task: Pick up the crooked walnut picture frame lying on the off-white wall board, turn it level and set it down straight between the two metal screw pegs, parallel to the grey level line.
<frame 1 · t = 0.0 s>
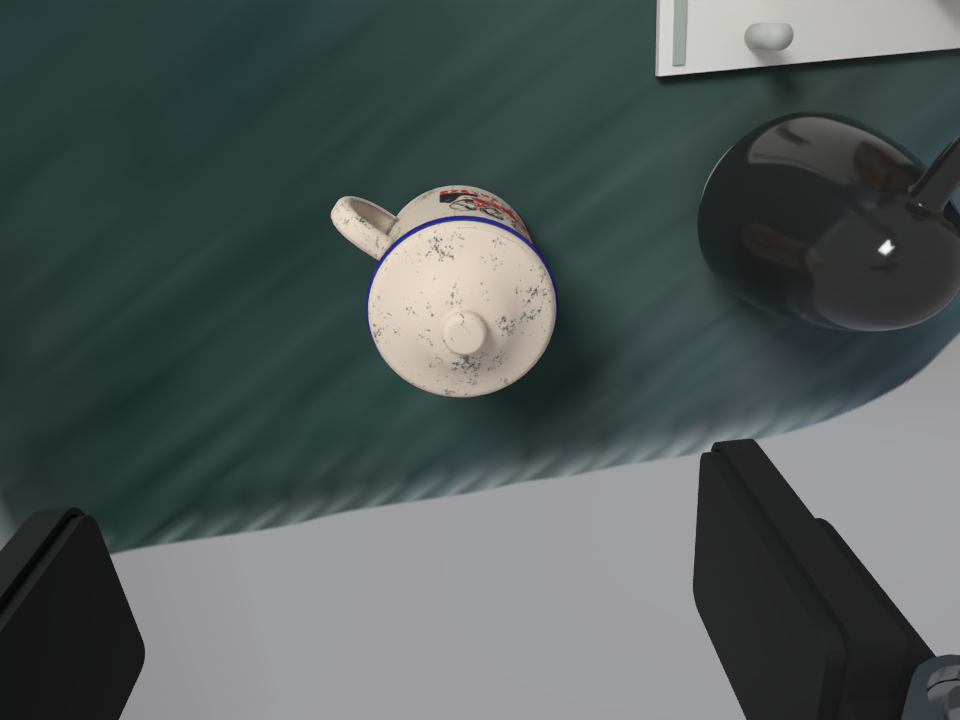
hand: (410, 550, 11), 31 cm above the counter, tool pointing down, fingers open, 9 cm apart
teacup with lid: (437, 243, 41), on the counter
dark grey egg-shaped piece: (763, 194, 41), on the counter
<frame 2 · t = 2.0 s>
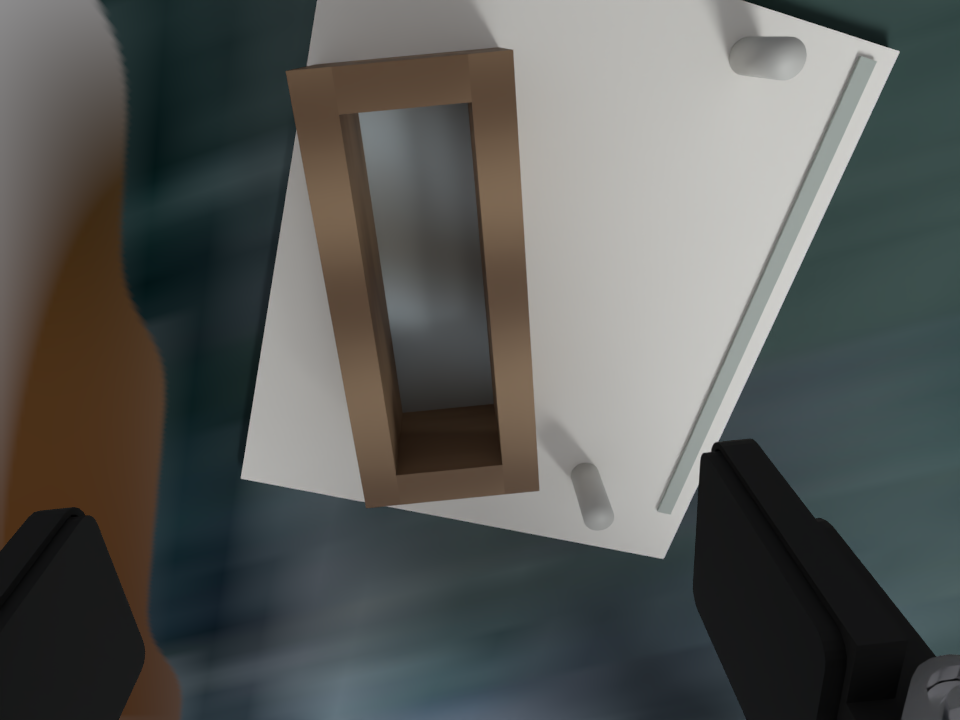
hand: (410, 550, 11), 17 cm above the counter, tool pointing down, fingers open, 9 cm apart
frame: (431, 262, 26), point 1 cm above the counter, touching wall board
wall board: (533, 282, 27), on the counter
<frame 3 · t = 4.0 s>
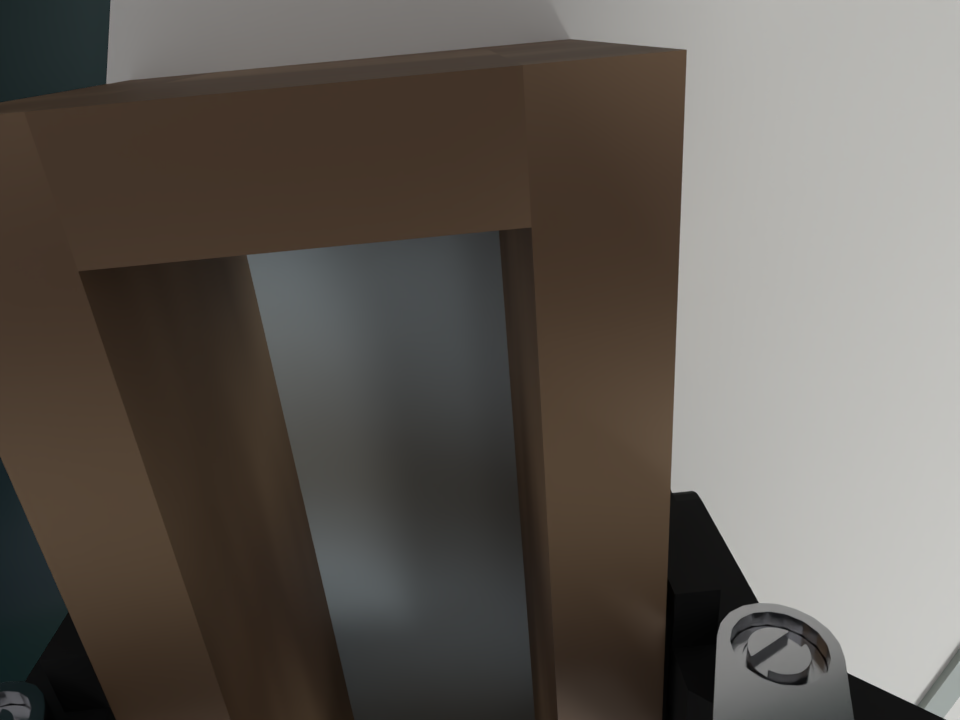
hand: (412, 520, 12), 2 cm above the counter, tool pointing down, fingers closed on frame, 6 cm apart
frame: (414, 485, 13), point 1 cm above the counter, touching gripper, wall board
wall board: (616, 506, 14), on the counter
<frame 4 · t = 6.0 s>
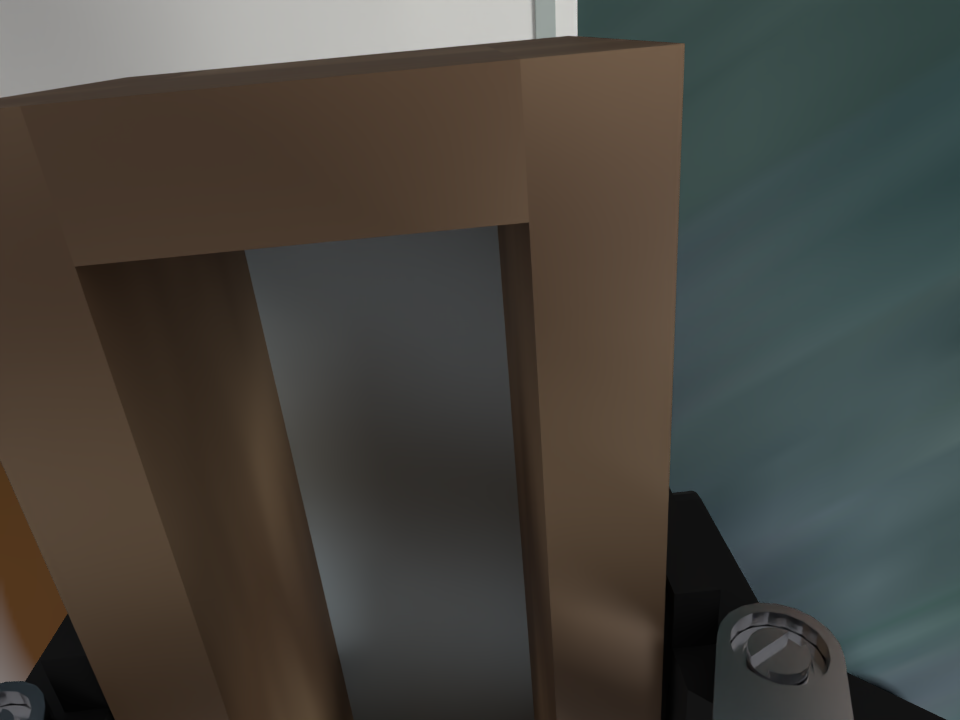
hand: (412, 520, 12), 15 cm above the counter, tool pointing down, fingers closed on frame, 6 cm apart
frame: (413, 483, 13), point 14 cm above the counter, touching gripper
wall board: (313, 278, 26), on the counter
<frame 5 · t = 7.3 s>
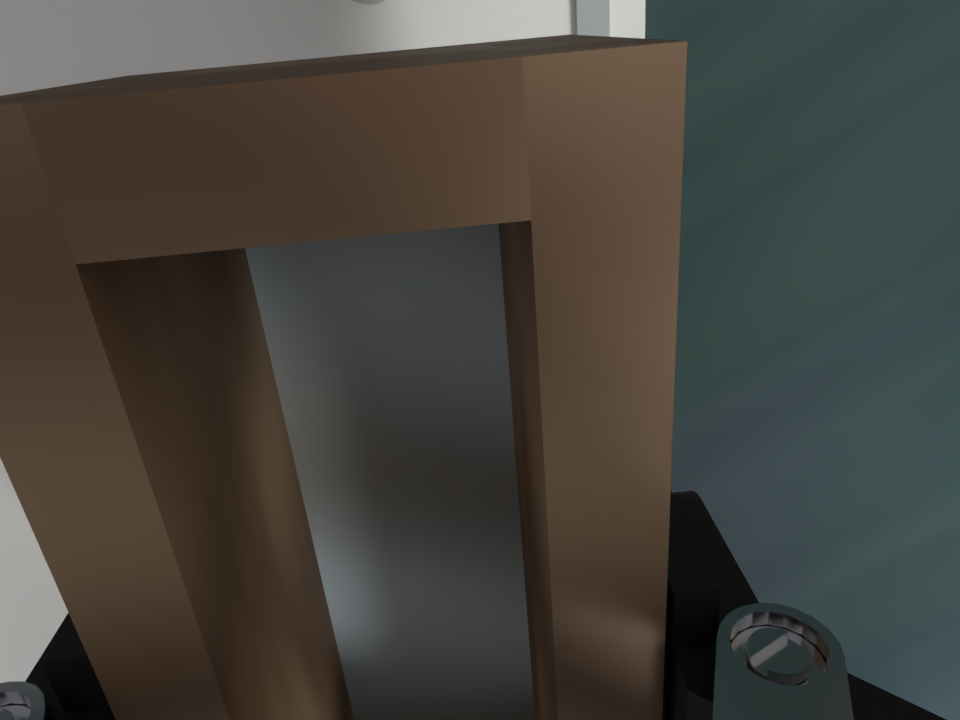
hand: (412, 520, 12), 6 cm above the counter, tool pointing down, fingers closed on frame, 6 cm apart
frame: (413, 483, 13), point 5 cm above the counter, touching gripper
wall board: (242, 433, 17), on the counter
when the fingers open (2 cm above the counter, at t = 8.3 s): frame stays where it is, resting on wall board.
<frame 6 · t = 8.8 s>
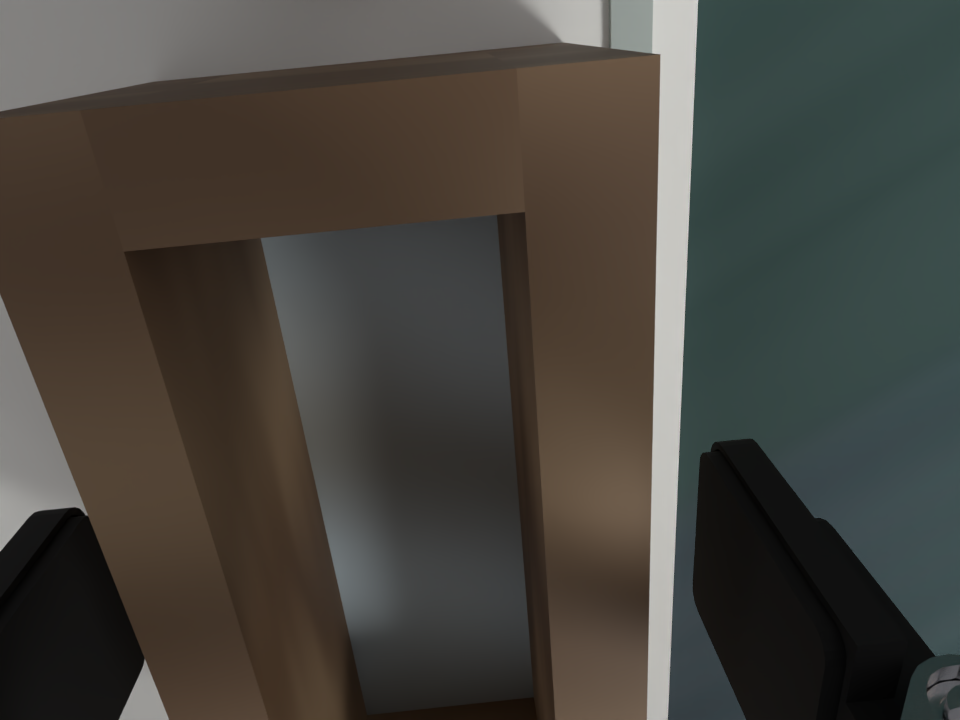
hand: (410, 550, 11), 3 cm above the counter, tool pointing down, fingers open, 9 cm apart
frame: (418, 464, 13), point 1 cm above the counter, touching wall board
wall board: (197, 509, 14), on the counter
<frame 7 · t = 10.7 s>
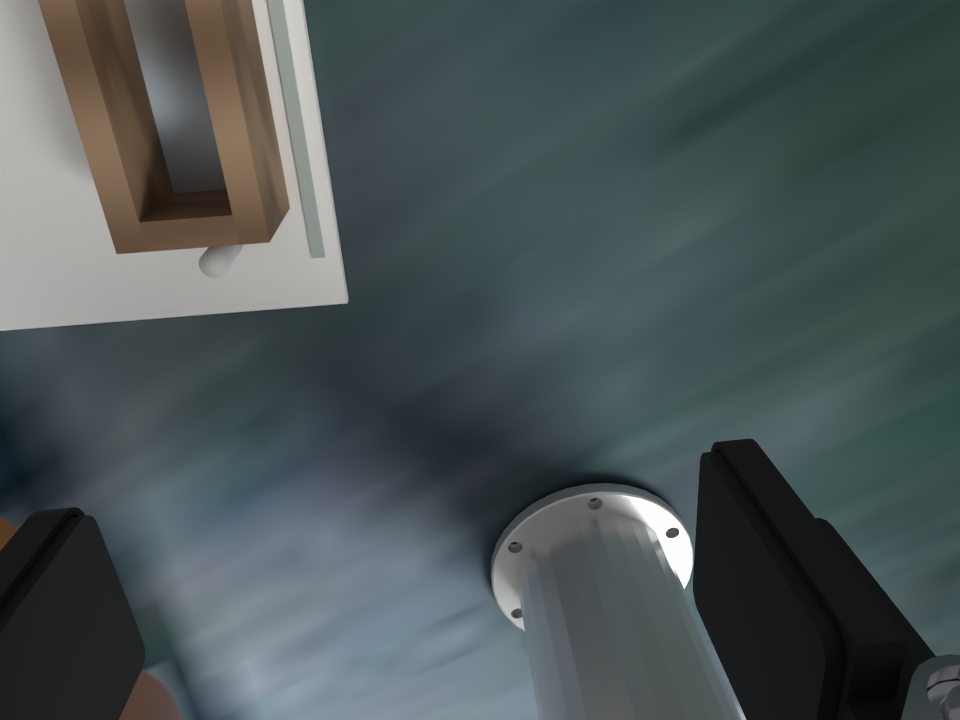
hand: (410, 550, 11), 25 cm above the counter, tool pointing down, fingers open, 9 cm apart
frame: (186, 46, 29), point 1 cm above the counter, touching wall board
wall board: (87, 76, 30), on the counter
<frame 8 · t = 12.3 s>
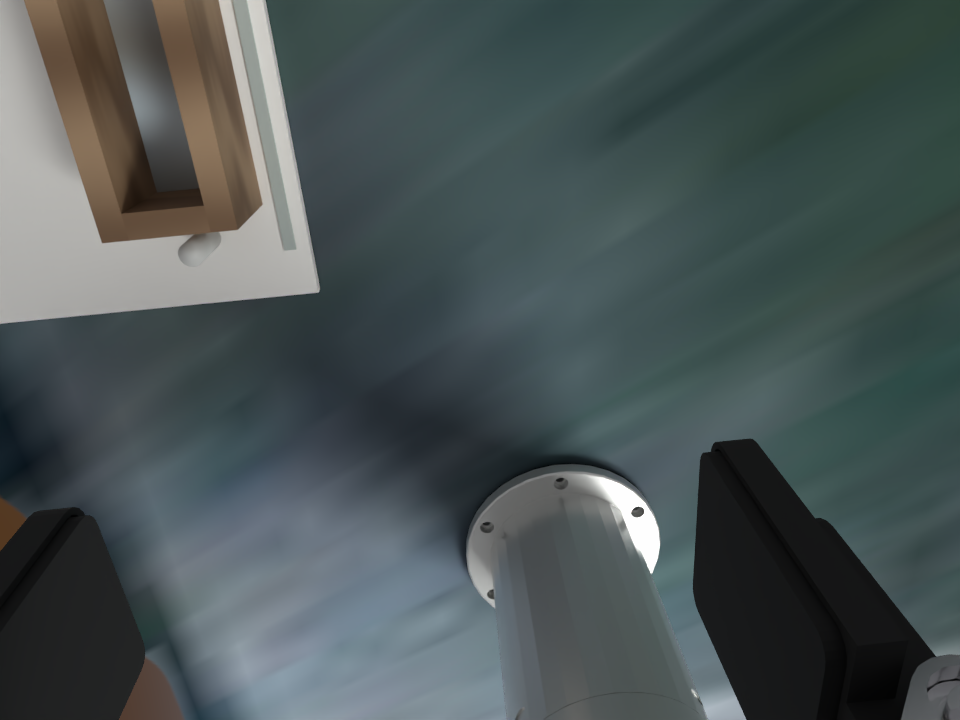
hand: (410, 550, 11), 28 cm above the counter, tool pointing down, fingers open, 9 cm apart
frame: (165, 60, 33), point 1 cm above the counter, touching wall board
wall board: (79, 90, 34), on the counter
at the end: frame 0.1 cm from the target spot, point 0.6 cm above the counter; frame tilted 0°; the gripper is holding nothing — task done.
